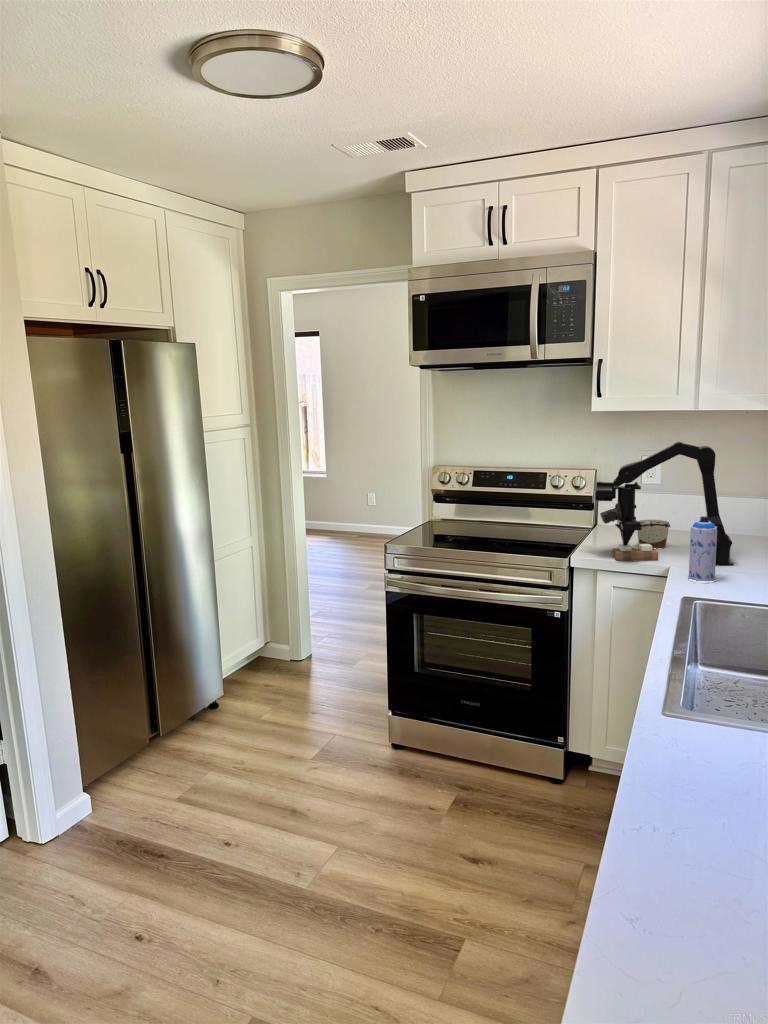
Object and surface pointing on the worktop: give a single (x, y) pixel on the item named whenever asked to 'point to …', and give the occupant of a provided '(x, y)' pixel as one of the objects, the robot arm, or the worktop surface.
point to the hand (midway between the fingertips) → (625, 545)
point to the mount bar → (635, 555)
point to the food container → (654, 533)
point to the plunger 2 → (645, 547)
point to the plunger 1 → (624, 547)
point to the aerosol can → (703, 550)
